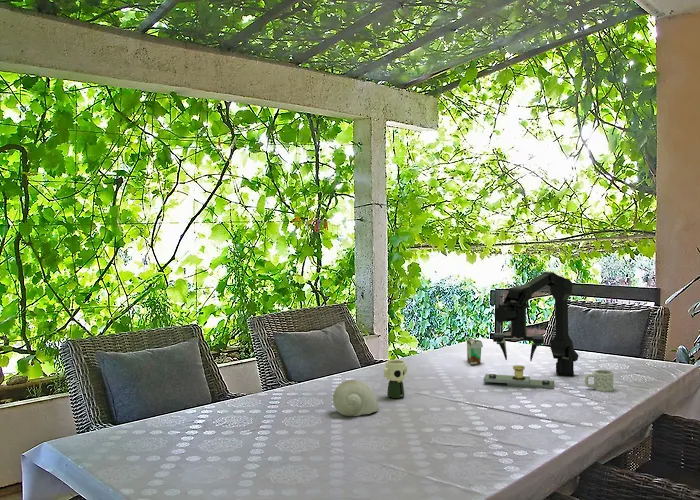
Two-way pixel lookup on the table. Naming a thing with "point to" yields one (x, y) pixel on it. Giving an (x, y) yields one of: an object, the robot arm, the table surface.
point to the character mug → (395, 377)
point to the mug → (601, 380)
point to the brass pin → (519, 372)
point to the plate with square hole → (519, 381)
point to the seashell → (354, 398)
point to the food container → (474, 352)
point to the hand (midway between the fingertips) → (518, 360)
